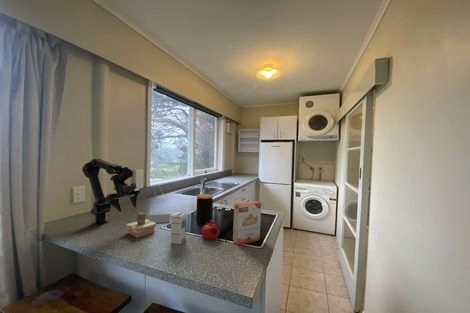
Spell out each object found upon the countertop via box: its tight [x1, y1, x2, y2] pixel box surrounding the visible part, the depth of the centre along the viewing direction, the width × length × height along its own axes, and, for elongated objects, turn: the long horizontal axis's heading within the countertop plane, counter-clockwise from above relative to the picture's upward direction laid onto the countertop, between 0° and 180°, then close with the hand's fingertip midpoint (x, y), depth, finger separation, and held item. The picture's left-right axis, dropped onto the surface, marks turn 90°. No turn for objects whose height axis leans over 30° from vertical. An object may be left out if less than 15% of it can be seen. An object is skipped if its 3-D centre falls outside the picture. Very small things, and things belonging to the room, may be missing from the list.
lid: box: [125, 212, 157, 233], centre depth 112 cm, size 11×11×8 cm
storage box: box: [127, 227, 155, 239], centre depth 113 cm, size 10×10×4 cm
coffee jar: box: [195, 193, 214, 226], centre depth 131 cm, size 11×11×18 cm
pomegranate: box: [201, 220, 220, 241], centre depth 109 cm, size 10×10×9 cm
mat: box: [145, 213, 172, 225], centre depth 134 cm, size 16×16×1 cm
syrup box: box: [170, 211, 187, 245], centre depth 103 cm, size 6×6×14 cm
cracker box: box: [232, 200, 262, 246], centre depth 106 cm, size 14×6×21 cm, turn 117°
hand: (128, 209), depth 113 cm, fingers open, 9 cm apart
